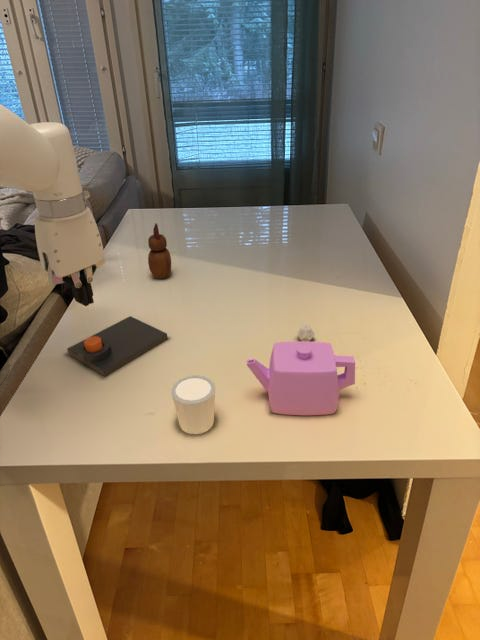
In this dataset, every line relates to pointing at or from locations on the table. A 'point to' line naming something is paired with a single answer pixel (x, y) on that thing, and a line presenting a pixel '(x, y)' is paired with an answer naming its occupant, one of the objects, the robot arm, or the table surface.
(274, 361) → the teapot
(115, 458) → the table surface
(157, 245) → the wooden figurine
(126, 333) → the scale
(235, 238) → the table surface
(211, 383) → the beige cup
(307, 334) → the game die
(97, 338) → the button
